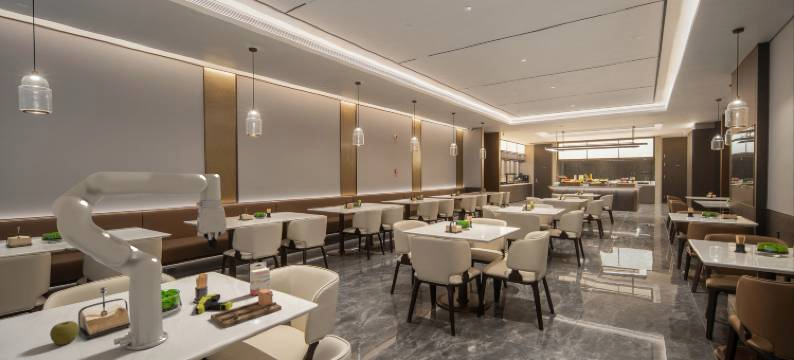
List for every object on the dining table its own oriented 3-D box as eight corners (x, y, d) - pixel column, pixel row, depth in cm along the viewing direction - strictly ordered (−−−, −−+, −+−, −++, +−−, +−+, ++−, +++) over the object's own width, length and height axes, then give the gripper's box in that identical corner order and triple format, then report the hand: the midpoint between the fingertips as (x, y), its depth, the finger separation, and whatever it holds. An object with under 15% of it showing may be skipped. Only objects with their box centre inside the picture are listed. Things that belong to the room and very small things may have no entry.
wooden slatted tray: (225, 328, 140) (224, 318, 140) (210, 318, 150) (210, 309, 150) (281, 309, 157) (281, 301, 157) (265, 302, 167) (265, 294, 167)
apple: (79, 335, 137) (78, 317, 136) (79, 343, 131) (78, 323, 130) (51, 342, 132) (50, 323, 131) (50, 350, 126) (49, 330, 125)
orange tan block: (268, 309, 154) (267, 295, 154) (258, 304, 160) (258, 290, 160) (277, 306, 157) (276, 292, 157) (267, 301, 163) (266, 288, 163)
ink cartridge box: (253, 296, 176) (252, 266, 175) (250, 293, 180) (248, 264, 179) (270, 292, 181) (269, 262, 181) (267, 289, 185) (266, 261, 185)
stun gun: (237, 291, 177) (203, 294, 173) (230, 304, 158) (192, 309, 154) (237, 296, 177) (203, 300, 173) (230, 311, 158) (192, 315, 154)
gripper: (194, 206, 140) (195, 253, 140) (233, 203, 151) (234, 246, 151) (187, 205, 145) (189, 251, 145) (225, 202, 156) (227, 244, 156)
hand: (212, 248), depth 148 cm, fingers closed
